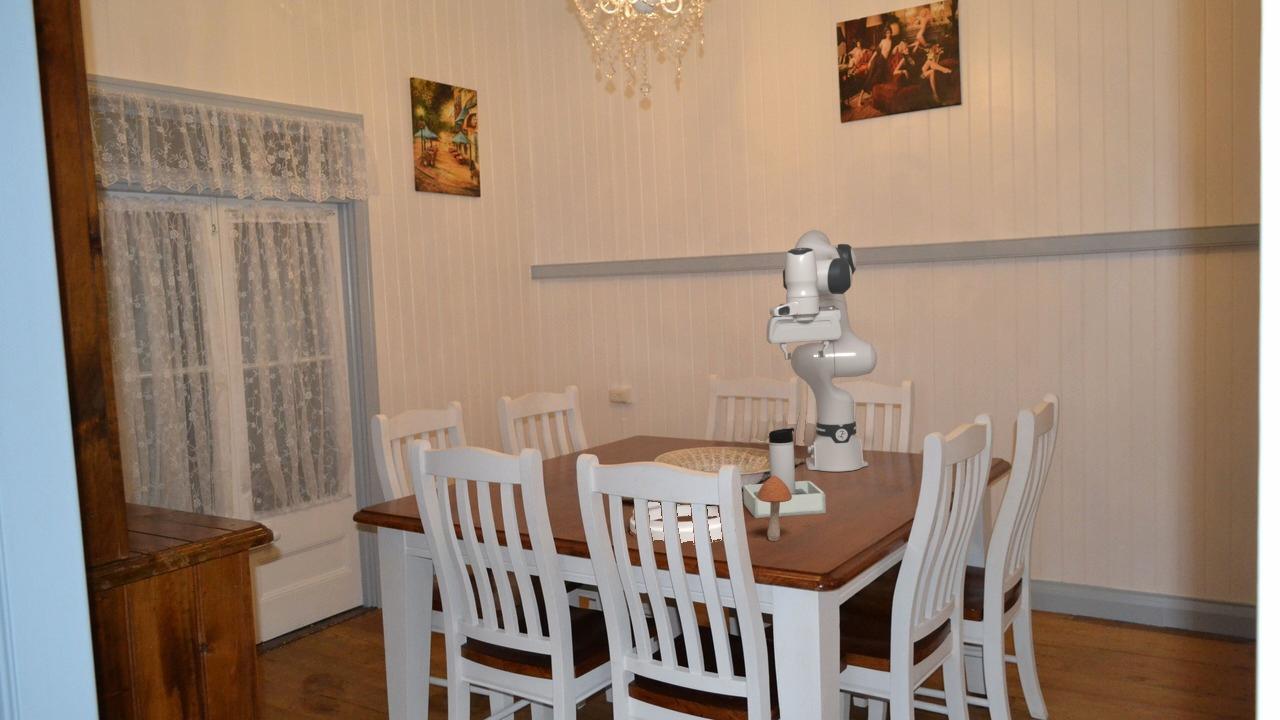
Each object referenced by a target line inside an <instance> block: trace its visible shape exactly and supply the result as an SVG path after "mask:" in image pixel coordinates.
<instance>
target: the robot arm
mask: <svg viewBox="0 0 1280 720" xmlns="http://www.w3.org/2000/svg"><path fill="white" fill-rule="evenodd" d="M795 243H796V244H795V246H794V248H792V249H790V250H788V251H787V252H786V255H785V262H784V263H785V264H784V266H785V267H784V269H783V270H782V280H783V281H782V283H783V284H782V285H783V287H782V288H784V289H785V290H786V294H785V302H784V303H780V304H779V305H775V306H773V307H770V309H769V315H770V317H769V318H768V320H767V324H766V341H767V342H768V343H769V344H771V345H773V344H779V348H780V350H782V352H783V355H784V360H786V361H787V360H790V365H791V369H792V370H793V372H794V374H795V375H796V376H798V377H799V378H801V379H802V380H803V381H805V383H807V385H808V386H809V388H810V389H811V391H812V392H813V394H814V398H815V404H816V410H817V411H816V412H817V414H816V415H817V422H816V427H815V431H816V432H815V433H816V435H815V438H814V440H813V442H812V444H811V445H808V446H807V453H808V454H811V455H810V457H806V458H805V464H806V468H807V470H811V471H822V472H849V471H851V472H852V471H855V470H859V469H862V468H864V467H868V466H869V463H868V461H865V460H864V455H863V445H862V440H861V438H860V437H858V436H857V428H858V427H857V423H856V421H855V405H854V397H853V395H852V394H851V393H850V392H848V391H847V390H845V389H843V388H840V387H837V386H836V385H834V383H833V382H832V380H833V379H835V378H854V377H856V378H857V377H860V376H864V375H868V374H871V373H872V372H873V371H874V370H875V368H876V366H877V363H878V355H877V351H876V349H875V348H874V346H873V345H872V344H871V343H869V342H867V341H866V340H864V339H862V338H860V337H859V336H858V335H857V333H855V332H854V331H853V329H852V327H851V324H850V319H849V313H848V304H847V300H846V296H845V293H846V292H848V290H850V288H851V286H852V283H853V275H854V273H855V271H856V270H857V269H856V267H857V262H858V260H857V259H858V258H857V255H856V253H855V251H854V249H853V247H852V246H851V245H849V243H838V244H836V245H832V244H831V241H830V239H829V237H828V236H827V235H826V233H824V231H821V230H819V229H818V230H817V229H816V230H815V229H811V230H808V231H807V232H805V233H803V234H802V235H801V236H800V237H799V238H798V239H797V242H795ZM806 342H807V343H806ZM789 343H790V344H791V343H805V344H802V345H798V346H796V347H795V348H794V350H792V352H788V351H787V349H786V348H787V344H789Z"/></svg>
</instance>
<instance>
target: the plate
mask: <svg viewBox="0 0 1280 720" xmlns="http://www.w3.org/2000/svg"><path fill="white" fill-rule="evenodd" d="M648 508H649V515H650V528H651V533H652V537H653V541H654V540H663V541H664V532H663V522H664V521H661V520H660V519H663V518H662V516H661V505H660V503H658V502H651V501H648ZM707 509H708V516H707V517H713V516H717V517H714V518H708V519H707V520H708V524H709V531H710V536H711V539H712V542H711V543H714V542H713V540H717V539H721V540H720V541H723V540H722V532H721V523H720V517H719V513H718V507H717V506H707ZM677 513H678V516H677V517H692V516H691V507H690V505H680V504H677ZM688 515H689V516H688ZM692 521H693V520H691V521H677V522H678V528H679V534H680V539H681V543H683V542H687V541H693V543H694V533H693V523H692ZM629 528H630V530H631V531H632V532H634V533H635V534H636V529H635V520H634V509H633V510H632V516H631V517H630V519H629ZM631 531H630V532H631Z"/></svg>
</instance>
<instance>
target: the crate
mask: <svg viewBox="0 0 1280 720" xmlns="http://www.w3.org/2000/svg"><path fill="white" fill-rule="evenodd" d="M763 484H764V483H755V484H743V485H742V490H743V491H742V492H743V493H742V494H743V505H744V506H745V507H746V508H747V510H748V511H749V512H750V514H751V515H752V516H753V517H754V519H760V518H761V519H762V518H770V503H771V502H764V501H760V500H759V499H758V498H757V495H758V493H759V490H760V488H761V487H762V485H763ZM795 489H796V495H792V499H791V500H789V501H786V502H780V508H779V517H787V516H788V517H790V516H791V517H793V516H802V515H803V516H804V515H805V516H806V515H817V514H819V515H820V514H826V513H827V508H826V507H827V506H826V504H827V503H826V493H825V492H824V491H823V490H822V489H820V488H819V487H818V486H817V485H816V484H815V483H813V482H812V481H811V480H799V481H795Z"/></svg>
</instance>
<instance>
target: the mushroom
mask: <svg viewBox="0 0 1280 720" xmlns="http://www.w3.org/2000/svg"><path fill="white" fill-rule="evenodd" d="M762 484H763V485H762V487H761V488H760V490H759V493H758V495H757V498H758V499H759V500H760V501H764V502H771V503H770V517H769V522H768V527H767V533H766V534H767V538H768V540H769V541H771V542H779V540H780V536H781V528H780V516H779V508H780V502H786V501H789V500H791V499H792V495H791V493H790V491H789V489H788V487H787V486H786V484H785V483H784V482H783V481H782V480H781V479H780V478H778V477H777V476H775V475H774V476H772V477H771V476H770V477H769V478H767V479H766V480H765V481H764V483H762Z"/></svg>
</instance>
